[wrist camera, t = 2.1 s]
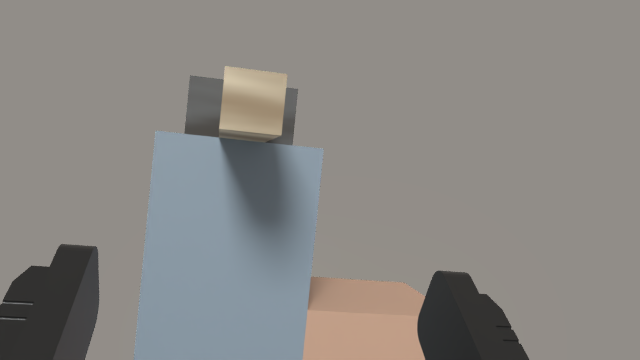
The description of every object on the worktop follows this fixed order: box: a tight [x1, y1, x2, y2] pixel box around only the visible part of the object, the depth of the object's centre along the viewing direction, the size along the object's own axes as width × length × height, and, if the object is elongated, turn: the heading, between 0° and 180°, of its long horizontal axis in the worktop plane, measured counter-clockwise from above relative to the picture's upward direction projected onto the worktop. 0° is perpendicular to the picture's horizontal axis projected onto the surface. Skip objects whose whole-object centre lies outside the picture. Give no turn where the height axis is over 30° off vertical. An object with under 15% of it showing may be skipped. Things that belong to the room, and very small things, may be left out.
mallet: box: [185, 66, 298, 145], centre depth 37 cm, size 21×8×4 cm, turn 10°
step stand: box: [134, 131, 425, 360], centre depth 44 cm, size 22×12×32 cm, turn 100°
